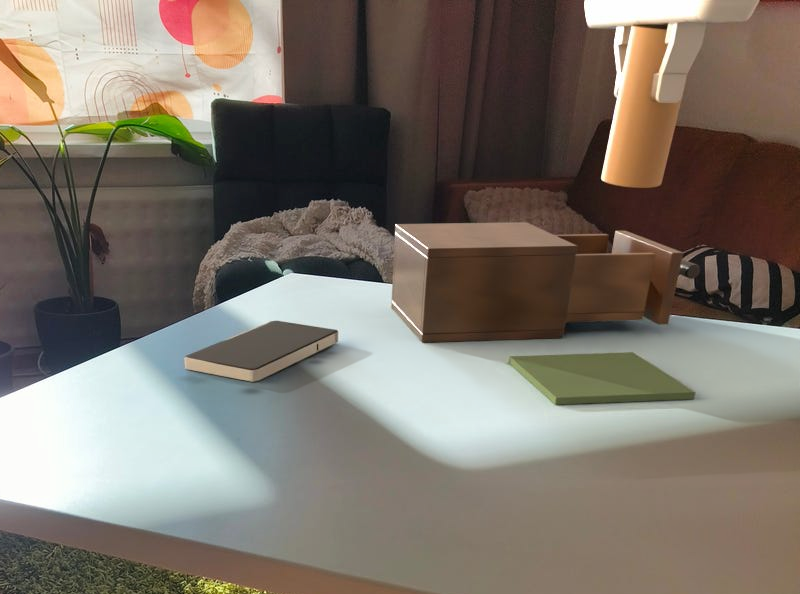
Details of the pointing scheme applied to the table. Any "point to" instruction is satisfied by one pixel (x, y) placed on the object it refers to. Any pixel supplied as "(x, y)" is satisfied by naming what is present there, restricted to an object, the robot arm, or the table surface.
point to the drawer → (624, 278)
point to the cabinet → (481, 281)
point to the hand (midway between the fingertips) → (645, 101)
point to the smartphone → (261, 350)
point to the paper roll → (640, 115)
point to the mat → (599, 378)
